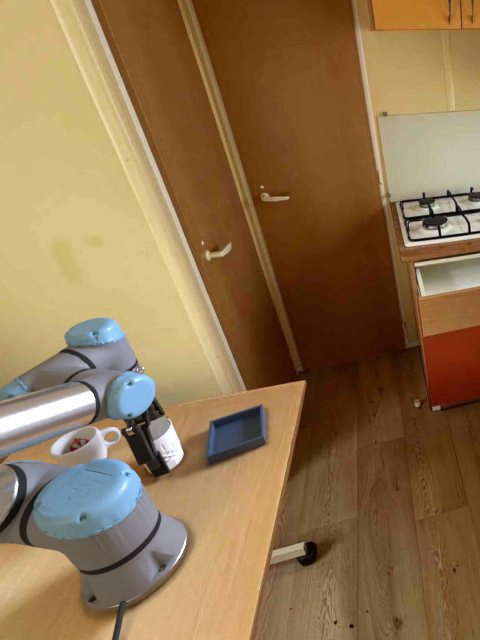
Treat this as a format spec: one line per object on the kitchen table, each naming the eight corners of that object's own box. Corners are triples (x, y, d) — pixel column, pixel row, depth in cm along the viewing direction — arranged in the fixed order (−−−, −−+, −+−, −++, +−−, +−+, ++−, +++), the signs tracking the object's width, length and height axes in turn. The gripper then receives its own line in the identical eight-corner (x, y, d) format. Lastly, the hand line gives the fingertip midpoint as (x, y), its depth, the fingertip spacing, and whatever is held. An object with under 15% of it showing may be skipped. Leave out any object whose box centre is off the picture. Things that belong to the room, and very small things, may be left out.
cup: (123, 435, 104) (109, 412, 100) (132, 453, 99) (117, 430, 95) (63, 466, 96) (46, 442, 92) (70, 487, 92) (51, 463, 88)
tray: (266, 443, 102) (263, 436, 100) (209, 464, 97) (205, 457, 95) (265, 410, 111) (262, 403, 109) (213, 428, 106) (209, 421, 104)
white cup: (155, 483, 92) (136, 452, 88) (138, 467, 96) (119, 436, 91) (193, 456, 98) (178, 426, 94) (176, 441, 102) (160, 412, 97)
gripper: (136, 413, 80) (179, 489, 91) (155, 351, 96) (190, 421, 106) (84, 429, 77) (135, 505, 87) (113, 362, 93) (153, 433, 103)
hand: (165, 459), depth 97 cm, fingers closed on white cup, 8 cm apart
